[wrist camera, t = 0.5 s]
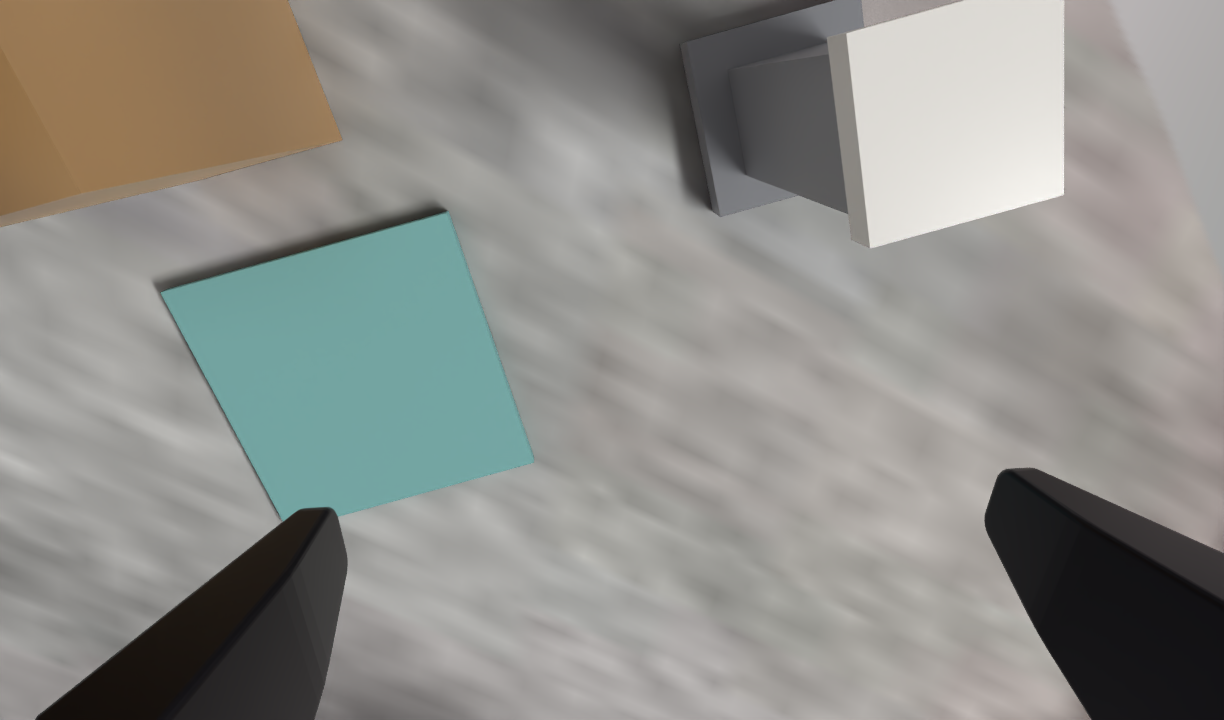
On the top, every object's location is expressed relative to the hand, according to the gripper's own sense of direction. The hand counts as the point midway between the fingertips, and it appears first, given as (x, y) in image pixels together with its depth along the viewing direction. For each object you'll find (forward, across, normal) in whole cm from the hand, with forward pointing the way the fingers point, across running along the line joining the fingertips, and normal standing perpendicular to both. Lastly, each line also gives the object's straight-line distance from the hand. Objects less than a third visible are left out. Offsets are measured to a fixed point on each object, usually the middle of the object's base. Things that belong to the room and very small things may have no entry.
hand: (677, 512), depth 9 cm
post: (+14, -5, -3) cm, 16 cm away
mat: (+13, +8, +5) cm, 16 cm away
